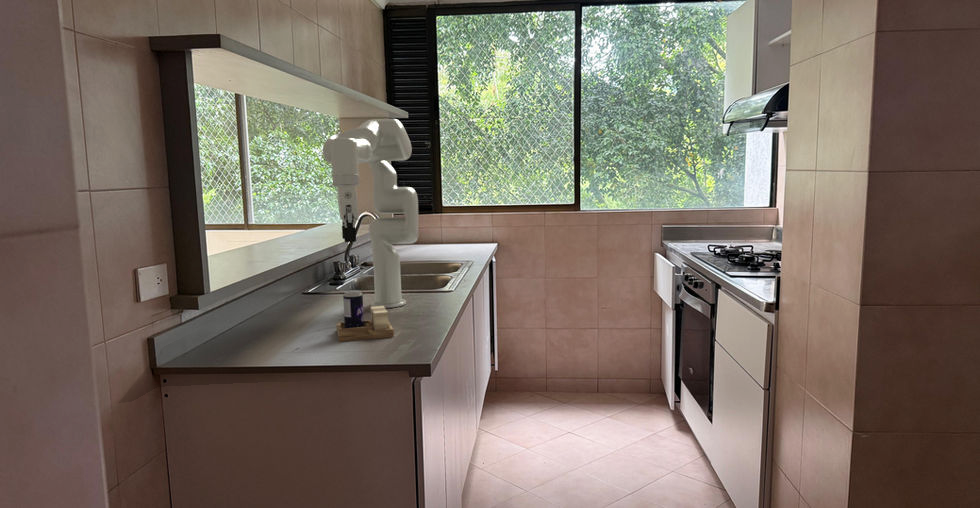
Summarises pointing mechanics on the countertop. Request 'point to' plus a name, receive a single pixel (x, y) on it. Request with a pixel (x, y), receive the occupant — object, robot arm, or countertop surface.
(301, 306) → the countertop surface
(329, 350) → the countertop surface
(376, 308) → the wing block
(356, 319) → the beverage can
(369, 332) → the jig
